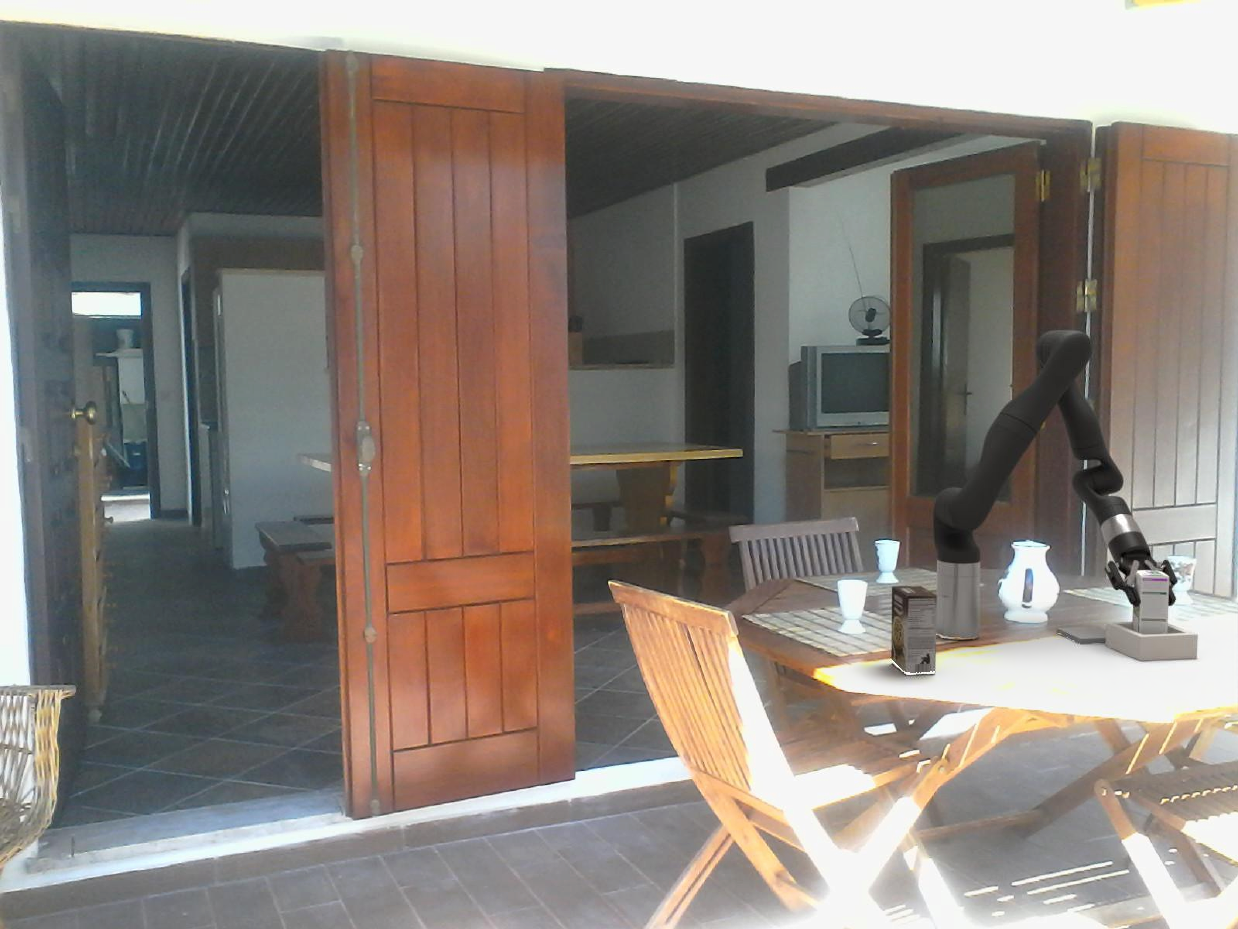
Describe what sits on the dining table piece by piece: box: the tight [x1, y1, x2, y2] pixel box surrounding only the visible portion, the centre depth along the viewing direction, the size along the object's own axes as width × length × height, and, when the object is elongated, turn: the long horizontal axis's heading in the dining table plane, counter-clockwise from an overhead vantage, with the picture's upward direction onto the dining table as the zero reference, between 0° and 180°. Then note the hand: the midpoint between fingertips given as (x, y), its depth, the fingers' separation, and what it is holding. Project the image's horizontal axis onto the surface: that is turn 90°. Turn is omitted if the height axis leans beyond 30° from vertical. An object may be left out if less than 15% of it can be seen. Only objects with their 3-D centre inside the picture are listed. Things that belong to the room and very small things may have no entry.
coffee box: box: [890, 585, 937, 673], centre depth 217 cm, size 9×6×16 cm
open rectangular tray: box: [1105, 621, 1199, 662], centre depth 228 cm, size 12×12×5 cm
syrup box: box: [1131, 570, 1169, 635], centre depth 228 cm, size 6×6×14 cm
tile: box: [1056, 625, 1106, 645], centre depth 241 cm, size 10×10×1 cm
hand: (1154, 604), depth 226 cm, fingers closed on syrup box, 7 cm apart
